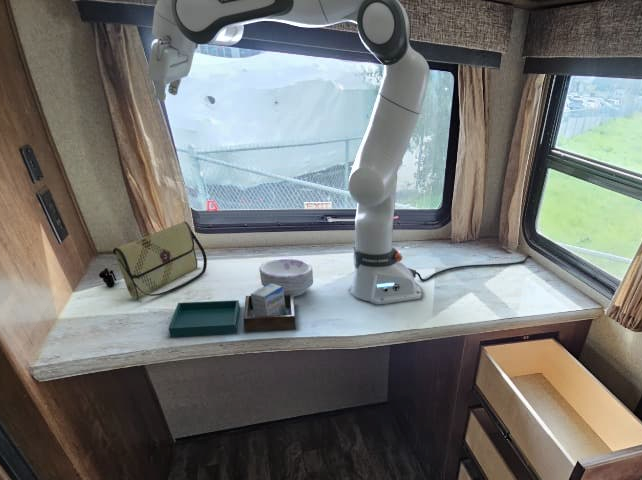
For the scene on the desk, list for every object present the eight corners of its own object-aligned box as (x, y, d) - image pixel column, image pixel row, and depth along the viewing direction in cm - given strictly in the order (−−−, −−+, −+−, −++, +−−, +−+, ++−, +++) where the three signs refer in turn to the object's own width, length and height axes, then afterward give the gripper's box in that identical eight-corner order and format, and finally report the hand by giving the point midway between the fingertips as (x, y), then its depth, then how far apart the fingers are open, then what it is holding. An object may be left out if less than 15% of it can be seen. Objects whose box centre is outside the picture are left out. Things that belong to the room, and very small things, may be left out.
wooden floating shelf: (294, 306, 126) (292, 293, 123) (296, 329, 116) (294, 316, 113) (248, 308, 122) (245, 295, 120) (245, 332, 112) (243, 318, 110)
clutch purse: (148, 306, 118) (130, 253, 109) (125, 302, 119) (106, 248, 110) (215, 268, 142) (205, 222, 133) (196, 265, 143) (184, 219, 134)
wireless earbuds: (110, 291, 124) (104, 274, 121) (100, 291, 123) (93, 274, 120) (118, 281, 129) (112, 264, 126) (108, 281, 128) (102, 264, 125)
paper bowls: (310, 279, 142) (308, 256, 137) (317, 299, 130) (315, 275, 126) (261, 282, 137) (257, 258, 132) (264, 303, 125) (260, 278, 121)
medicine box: (269, 326, 115) (264, 297, 110) (255, 322, 116) (250, 293, 111) (287, 314, 121) (283, 286, 116) (273, 311, 123) (269, 282, 117)
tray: (240, 308, 122) (238, 300, 120) (236, 333, 111) (235, 324, 110) (180, 311, 118) (178, 302, 116) (171, 337, 107) (168, 328, 106)
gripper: (175, 46, 96) (166, 111, 104) (200, 40, 111) (191, 97, 119) (143, 29, 94) (136, 96, 101) (173, 25, 109) (165, 84, 116)
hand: (166, 96), depth 110 cm, fingers open, 8 cm apart
